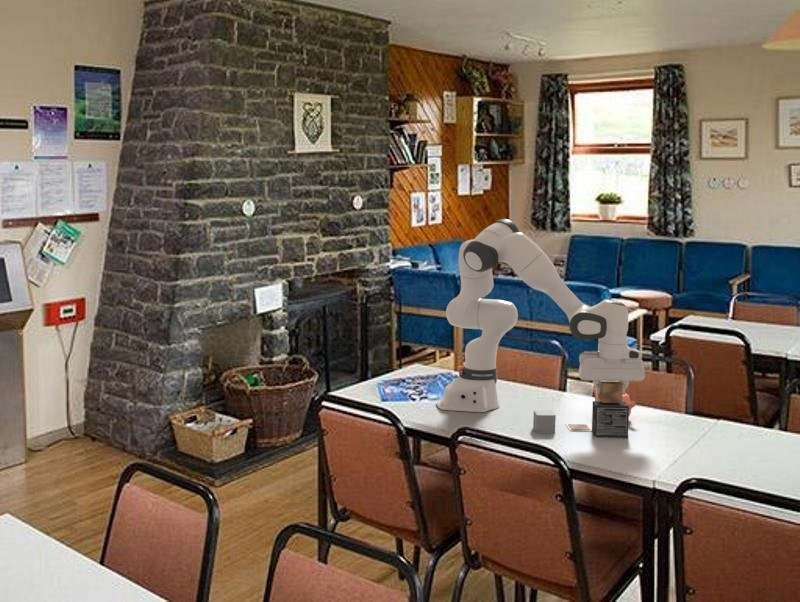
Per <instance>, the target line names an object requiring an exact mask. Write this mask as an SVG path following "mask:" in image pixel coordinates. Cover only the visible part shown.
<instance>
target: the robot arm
mask: <svg viewBox="0 0 800 602" xmlns="http://www.w3.org/2000/svg"><path fill="white" fill-rule="evenodd" d="M499 263H505V264H507V265H508V266H509V267H510V268H511V269H512V270H513V271H514V273H515V274H516V275H517V276H518V278H519V279H521V281H523V283H525V284H526V285H527V286H528V287H530V288H532V289H533V290H535V291H539V292H542V293H544V294H546V295H547V296H549V297H550V298H551V300H553V301H554V302H555V304H557V305H558V307H559V308H560V309H561V310H562V311H563V312H564V314H565V315H566V316H567V319H568V323H569V331H570V333H571V335H572V336H573V337H574V338H575V339H577V340H580V341H592V340H598V341H597V342H598V344H597V346H598V347H597V350H584V351H583V352H581V353H579V355H578V356H579V357H578V359H579V360H578V362H579V367H578V377H579V378H580V380H581V381H592V384H593V387H594V388H596V394H602V389H601V388H599V381H620V382H622V384H623V393H622V395H625V393H626V390H627V388H628V386H629V385H630V382H642V381H643V380H644V379H645V372H646V371H645V363H644V361H643V360H642V358H643V353H642V351H640V350H638V349H636V348H635V347H632V346H628V339H627V338H628V337H627V335H628V331H629V311H628V307H627V306H626V304H625V303H623V302H621V301H618V300H614V299H609V298H608V299H603V300H602V301H600V302H599V303H597V304H594V305H593V306H592V305H590V304H587V303H585V302H584V301H582V300H580V298H578V296H577V295H576V294H575V293H573V291H572V290H571V289H570V288H569V287H568V285H566V283H565V282H564V281H563V279H562V278H561V276H560V274H559V272H558V271H557V268H556V267H555V265H554V264H553V262H552V260H551V259H550V257H549V256H548V255H547V253H546V252H545V251H543V250H542V248H541V247H540V246H539V245H538V244H537V243H536V242H534V241H533V240H532V239H531V238H530V237H529V236H528V235H526V234H524V233H523V232H520V231H519V228H518V226H517V225H516V224H515V223H514V222H513V221H512V220H510V219H507V218H500V219H498V220H496V221H494V222H492V223H491V225H488V226H487V227H486V228H484V229H483V230H482V231H480V232H479V233H478V234H477V236H476V237H475V238H473V239H468V240H466V241H464V242H463V243H462V244H461V245H460V247H459V250H458V268H459V277H460V292H459V294H458V295H457V296H456V297H455V298H453V299H451V301H449V303H448V304H447V306H446V309H445V317H446V319H447V322H448V323H449V324H450V325H451V326H454V327H458V328H461V329H467V330H468V329H472V330H481V336H479V337H477V338H474V339H472V340H470V341H469V342H468V343H467V344H466V346H465V351H464V354H465V355H464V356H465V357H464V366H463V365H458V366H457V368H456V369H457V371H458V377H457V378H456V379H454V380H453V381H452V382H450V383H449V384H447V385H445V388H444V390H443V393H442V394H443V395H442V397H440V398H438V399H437V401H436V406H437V407H438V409H440V410H443V411H455V412H457V411H458V412H469V413H470V412H471V413H472V412H473V413H485V412H487V411H493V410H497V409H498V408H499V407H500V403H499V399H498V391H497V382H498V369H497V353H498V348H499V347H498V346H499V344H500V341H501V339H502V338H503V336H505V335H506V333H508V332H509V331H510V330H512V329H513V328H514V327H515V325H516V324H517V322H518V318H519V313H518V312H519V311H518V309H517V307H516V306H515V304H514V303H513V302H511V301H507V300H502V299H495V298H494V299H491V298H485V297H486V296H488V295H490V293H491V292H492V290H493V289H494V285H495V284H494V276H493V269H494V268H497V267H498V266H499Z"/></svg>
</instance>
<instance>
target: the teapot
mask: <svg viewBox="0 0 800 602" xmlns="http://www.w3.org/2000/svg"><path fill="white" fill-rule="evenodd" d="M591 389H592V390H593V392H594V401H601V400H600V399H599V398H598V394H596V387H595V386H591ZM622 402H626V403H627V404H628V405H629V417H630V416H631V413H632V409H633V408H635V407H636V406H637V403H636V401H634V400H631V399H630V394H627V393H626V392H625V395H622Z"/></svg>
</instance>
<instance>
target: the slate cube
mask: <svg viewBox="0 0 800 602" xmlns="http://www.w3.org/2000/svg"><path fill="white" fill-rule="evenodd" d="M532 421H533V423H532V425H533V426H532V427H533V428H532V429H533V430H534V432H535V433H536V434H556V414H555V412H554V411H553V409H550V410H545V409H543V410H542V409H540V410H539V409H534V410H533V420H532Z"/></svg>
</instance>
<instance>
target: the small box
mask: <svg viewBox="0 0 800 602" xmlns="http://www.w3.org/2000/svg"><path fill="white" fill-rule="evenodd" d="M591 410H592V412H591V413H592V417H591V430H592V431H591V433H592V434H593V436H594V438H612V439H613V438H615V439H616V438H617V439H618V438H619V439H622V438H623V439H624V438H625V439H629V422H630V421H629V417H630V416H629V405H628V404H627V403H626V402H622V403H603V402H602V401H595V400H594V401H593V400H592V409H591Z"/></svg>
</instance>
